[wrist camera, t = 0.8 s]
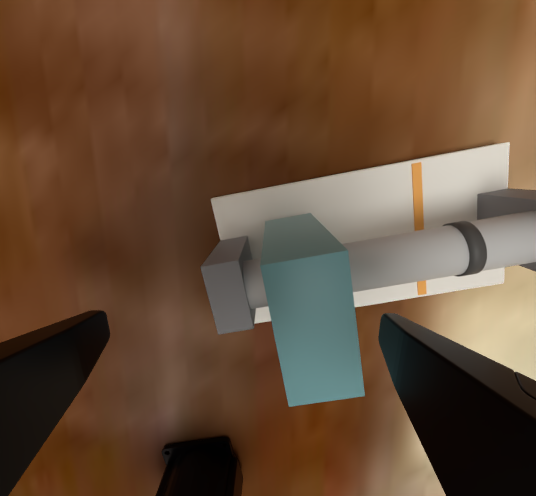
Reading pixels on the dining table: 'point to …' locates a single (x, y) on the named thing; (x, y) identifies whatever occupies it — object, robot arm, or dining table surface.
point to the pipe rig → (383, 230)
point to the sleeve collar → (311, 310)
